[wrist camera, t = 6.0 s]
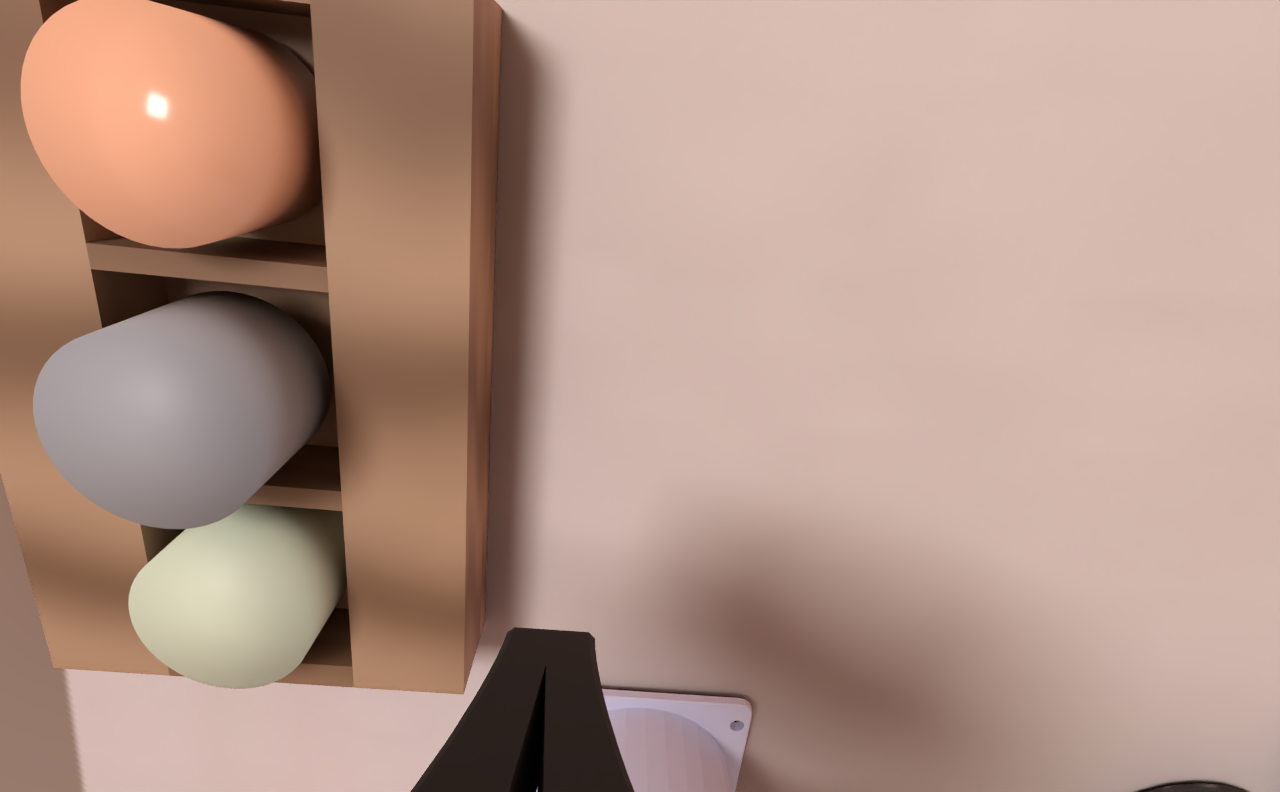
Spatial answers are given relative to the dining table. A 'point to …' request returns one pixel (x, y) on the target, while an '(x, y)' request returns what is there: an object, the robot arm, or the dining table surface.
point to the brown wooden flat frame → (326, 309)
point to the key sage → (242, 594)
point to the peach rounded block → (171, 122)
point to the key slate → (182, 407)
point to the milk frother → (1196, 788)
